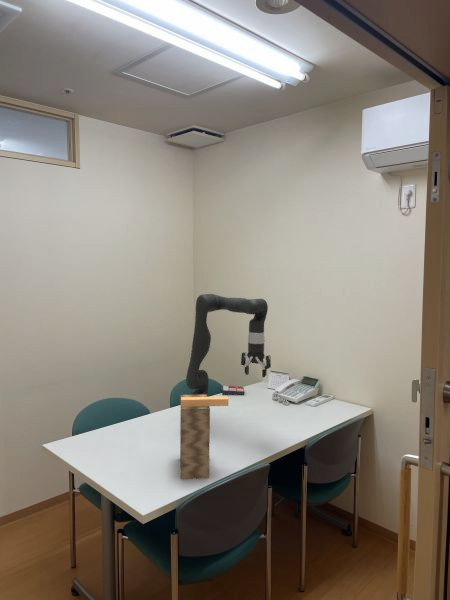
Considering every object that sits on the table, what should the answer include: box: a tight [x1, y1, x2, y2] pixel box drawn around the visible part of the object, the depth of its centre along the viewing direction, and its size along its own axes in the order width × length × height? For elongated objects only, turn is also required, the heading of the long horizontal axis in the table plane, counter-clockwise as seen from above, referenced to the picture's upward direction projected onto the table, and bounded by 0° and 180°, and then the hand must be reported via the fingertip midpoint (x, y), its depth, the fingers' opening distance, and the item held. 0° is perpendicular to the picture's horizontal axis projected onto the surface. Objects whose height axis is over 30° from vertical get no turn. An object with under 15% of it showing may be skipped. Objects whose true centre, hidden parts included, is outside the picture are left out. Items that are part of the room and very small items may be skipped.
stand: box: [179, 394, 211, 480], centre depth 196 cm, size 12×20×30 cm, turn 6°
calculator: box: [221, 385, 245, 396], centre depth 310 cm, size 11×4×15 cm
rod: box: [180, 396, 229, 408], centre depth 190 cm, size 20×4×3 cm, turn 96°
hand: (255, 375), depth 208 cm, fingers open, 8 cm apart
